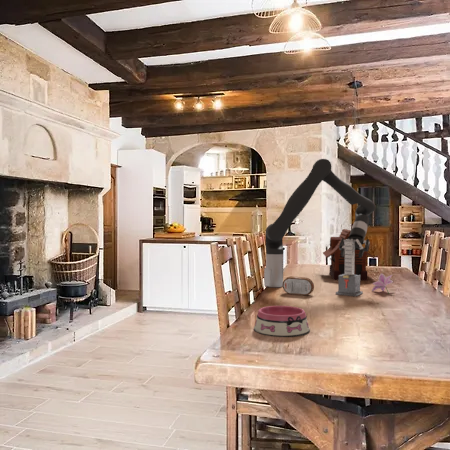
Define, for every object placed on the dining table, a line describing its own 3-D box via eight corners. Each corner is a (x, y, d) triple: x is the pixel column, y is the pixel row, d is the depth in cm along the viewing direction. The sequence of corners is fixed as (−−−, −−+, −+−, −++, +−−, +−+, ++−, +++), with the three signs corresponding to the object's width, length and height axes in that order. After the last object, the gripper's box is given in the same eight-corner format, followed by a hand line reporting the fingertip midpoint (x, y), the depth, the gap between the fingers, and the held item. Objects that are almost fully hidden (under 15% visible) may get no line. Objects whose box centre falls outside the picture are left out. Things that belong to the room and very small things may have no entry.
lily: (397, 293, 229) (389, 276, 233) (401, 288, 218) (393, 269, 222) (374, 300, 230) (366, 283, 234) (377, 295, 219) (369, 276, 223)
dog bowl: (270, 340, 141) (271, 318, 141) (244, 326, 158) (244, 306, 158) (320, 334, 148) (321, 313, 148) (290, 321, 165) (290, 302, 165)
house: (322, 272, 301) (322, 228, 300) (366, 273, 297) (367, 229, 296) (326, 280, 266) (326, 230, 266) (376, 281, 262) (377, 231, 262)
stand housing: (355, 296, 214) (356, 276, 214) (335, 294, 220) (335, 274, 220) (362, 293, 223) (362, 274, 223) (342, 291, 229) (342, 272, 228)
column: (352, 292, 219) (352, 240, 218) (343, 291, 221) (343, 239, 220) (355, 291, 222) (355, 239, 222) (346, 290, 225) (346, 239, 224)
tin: (314, 295, 218) (314, 277, 218) (312, 296, 215) (312, 278, 215) (283, 292, 224) (283, 275, 224) (281, 293, 221) (281, 276, 221)
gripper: (343, 226, 234) (334, 250, 224) (371, 227, 226) (364, 251, 217) (346, 236, 238) (338, 260, 229) (374, 237, 231) (367, 262, 221)
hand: (350, 256), depth 223 cm, fingers open, 8 cm apart
